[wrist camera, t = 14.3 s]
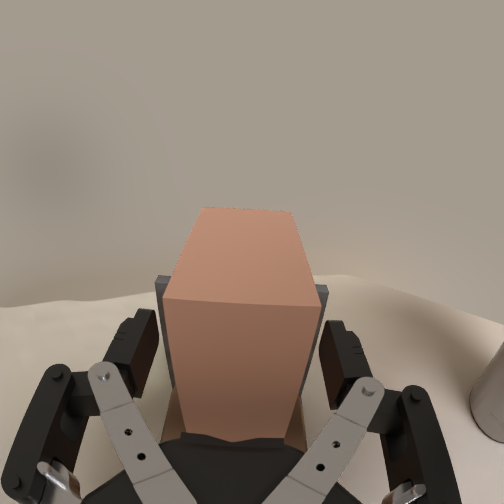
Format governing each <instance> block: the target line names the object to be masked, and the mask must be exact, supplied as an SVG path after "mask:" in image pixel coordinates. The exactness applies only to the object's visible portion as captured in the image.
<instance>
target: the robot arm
mask: <svg viewBox="0 0 504 504" xmlns="http://www.w3.org/2000/svg"><path fill="white" fill-rule="evenodd" d="M158 344H159V331H158V325H157V319H156V313H155V311H154V310H150V309H141V308H139V309H138V310H137V312H136V314H135V316H134V318H127V319H126V320H125V321H124V322H122V323H121V324H120V326H119V328H118V330H117V333H116V334H115V336H114V339H113V340H112V342H111V344H110V346H109V348H108V350H107V352H106V354H105V356H104V359H103V361H102V362H99V363H96V364H94V365H93V366H92V367H91V368H90V369H89V371H85V372H71V371H70V369H69V367H67V366H66V365H64V364H55V365H52V366H50V367H49V368H48V369H47V370H46V371H45V373H44V375H43V377H42V379H41V381H40V383H39V385H38V387H37V389H36V391H35V393H34V396H33V398H32V400H31V402H30V404H29V407H28V409H27V411H26V413H25V416H24V418H23V420H22V423H21V425H20V427H19V430H18V432H17V435H16V437H15V440H14V442H13V445H12V448H11V450H10V453H9V456H8V459H7V461H6V464H5V467H4V470H3V473H2V477H1V485H2V488H3V490H4V492H5V493H6V494H7V495H8V496H9V497H11V498H12V499H14V500H15V501H17V502H18V503H20V504H362V503H361V502H360V501H359V500H357V499H356V498H355V497H354V496H353V495H352V494H350V493H349V492H348V491H347V490H346V489H345V488H344V487H342V486H341V485H340V484H339V483H338V482H337V479H338V478H339V476H340V475H341V473H342V472H343V470H344V469H345V467H346V465H347V464H348V462H349V461H350V459H351V457H352V456H353V454H354V452H355V451H356V449H357V447H358V445H359V444H360V442H361V440H362V438H363V437H364V435H365V433H366V431H368V432H374V433H379V434H380V439H381V444H382V449H383V454H384V459H385V464H386V470H387V476H388V482H389V488H390V493H388V494H387V495H386V496H385V497H384V499H383V501H382V504H462V502H461V498H460V494H459V490H458V486H457V482H456V478H455V474H454V471H453V467H452V463H451V460H450V457H449V453H448V450H447V447H446V444H445V441H444V437H443V434H442V431H441V428H440V425H439V422H438V420H437V417H436V414H435V411H434V408H433V406H432V403H431V400H430V398H429V395H428V393H427V392H426V391H425V390H424V389H423V388H422V387H420V386H417V385H410V386H407V387H405V388H404V390H403V391H402V392H400V391H394V390H388V389H385V388H384V387H383V385H382V384H381V383H380V382H379V381H378V380H377V379H375V378H373V376H372V373H371V370H370V368H369V365H368V362H367V359H366V357H365V354H364V351H363V348H362V346H361V343H360V340H359V338H358V337H357V336H356V335H355V334H354V333H353V332H352V331H346V329H345V326H344V323H343V321H337V320H327V321H326V322H325V326H324V329H323V333H322V337H321V340H320V344H319V358H320V362H321V367H322V372H323V376H324V381H325V386H326V391H327V396H328V401H329V406H330V410H337V409H338V410H337V412H336V413H334V414H333V416H332V417H331V419H330V420H329V421H328V423H327V424H326V426H325V427H324V429H323V430H322V431H321V433H320V434H319V436H318V437H317V438H316V440H315V441H314V442H313V444H312V445H311V446H310V448H309V449H308V450H307V452H306V453H305V452H303V451H301V450H300V449H297V448H295V447H293V446H289V445H285V444H284V438H254V439H249V440H243V441H237V442H229V441H226V440H222V439H219V438H215V437H212V436H209V435H205V434H196V433H187V432H181V436H180V438H176V439H171V440H168V441H165V442H162V443H160V444H157V442H156V440H155V439H154V437H153V435H152V434H151V432H150V430H149V428H148V427H147V425H146V423H145V421H144V419H143V417H142V416H141V414H140V412H139V410H138V408H137V406H136V404H135V402H134V401H133V397H136V398H141V397H142V394H143V391H144V387H145V384H146V381H147V378H148V375H149V372H150V369H151V366H152V363H153V360H154V357H155V354H156V351H157V348H158ZM470 406H471V410H472V413H473V416H474V418H475V420H476V422H477V424H478V425H479V427H480V428H481V429H482V430H483V431H484V432H485V433H486V434H487V435H488V436H490V437H491V438H492V439H494V440H497V441H499V442H503V443H504V342H503V343H502V345H501V347H500V348H499V350H498V351H497V353H496V355H495V356H494V358H493V359H492V361H491V362H490V364H489V365H488V367H487V368H486V370H485V371H484V373H483V374H482V375H481V377H480V378H479V380H478V381H477V382H476V384H475V385H474V387H473V389H472V391H471V396H470ZM89 416H101V418H102V420H103V423H104V425H105V428H106V430H107V432H108V435H109V437H110V439H111V441H112V444H113V446H114V448H115V450H116V452H117V454H118V456H119V458H120V460H121V462H122V464H123V466H124V468H125V469H124V470H123V471H121V472H120V473H118V474H117V475H116V476H114V477H113V478H111V479H110V480H109V481H107V482H106V483H104V484H103V485H101V486H100V487H98V488H97V489H95V490H94V491H92V492H91V493H89V494H88V495H87V496H86V497H85V498H84V499H83V500H82V498H81V496H80V484H79V481H78V479H77V478H76V477H75V476H74V475H73V471H74V467H75V463H76V460H77V456H78V452H79V449H80V445H81V442H82V439H83V435H84V432H85V429H86V425H87V422H88V419H89Z"/></svg>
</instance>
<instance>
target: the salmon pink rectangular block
mask: <svg viewBox="0 0 504 504" xmlns="http://www.w3.org/2000/svg"><path fill="white" fill-rule="evenodd" d="M162 299H163V307H164V314H165V322H166V329H167V335H168V342H169V348H170V354H171V360H172V365H173V371H174V376H175V382H176V387H177V392H178V397H179V402H180V406H181V411H182V416H183V420H184V424H185V429H186V432H187V433H196V434H205V435H209V436H212V437H215V438H219V439H222V440H226V441H229V442H237V441H243V440H249V439H254V438H284V437H285V434H286V431H287V428H288V425H289V422H290V419H291V416H292V413H293V410H294V406H295V403H296V400H297V397H298V393H299V390H300V387H301V383H302V380H303V376H304V373H305V369H306V366H307V362H308V358H309V355H310V351H311V347H312V343H313V340H314V336H315V332H316V328H317V324H318V320H319V316H320V312H321V307H322V306H321V303H320V299H319V296H318V293H317V290H316V286H315V283H314V280H313V277H312V274H311V271H310V267H309V264H308V261H307V258H306V255H305V252H304V249H303V246H302V243H301V240H300V237H299V234H298V231H297V228H296V225H295V222H294V219H293V216H292V213H291V212H284V211H269V210H253V209H235V208H215V207H203V208H202V210H201V212H200V214H199V216H198V219H197V220H196V223H195V225H194V227H193V229H192V231H191V234H190V236H189V238H188V240H187V242H186V244H185V247H184V249H183V251H182V253H181V256H180V258H179V260H178V262H177V265H176V267H175V269H174V271H173V274H172V276H171V278H170V281H169V283H168V285H167V288H166V290H165V293H164V295H163V297H162Z"/></svg>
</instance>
